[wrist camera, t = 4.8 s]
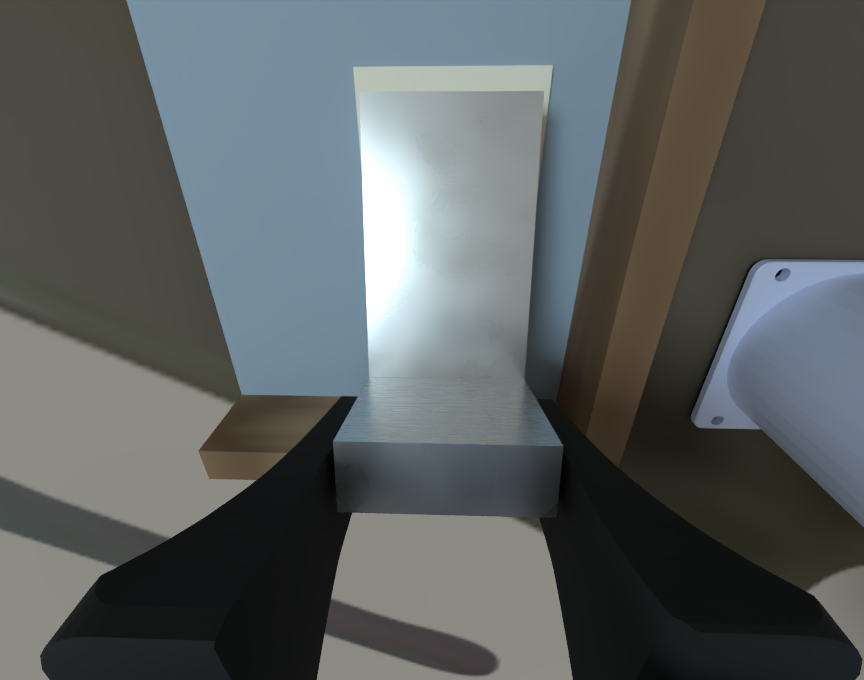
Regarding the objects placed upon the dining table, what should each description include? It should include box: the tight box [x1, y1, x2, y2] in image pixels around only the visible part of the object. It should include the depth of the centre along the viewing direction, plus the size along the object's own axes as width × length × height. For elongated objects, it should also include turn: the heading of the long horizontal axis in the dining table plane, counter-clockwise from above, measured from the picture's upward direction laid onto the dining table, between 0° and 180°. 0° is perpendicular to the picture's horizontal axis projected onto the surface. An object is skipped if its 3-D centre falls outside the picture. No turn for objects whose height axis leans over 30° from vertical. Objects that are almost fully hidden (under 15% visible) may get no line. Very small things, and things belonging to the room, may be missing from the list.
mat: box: [127, 0, 631, 400], centre depth 12 cm, size 16×26×1 cm, turn 0°
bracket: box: [333, 91, 563, 518], centre depth 11 cm, size 10×5×6 cm, turn 0°
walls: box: [199, 0, 766, 480], centre depth 11 cm, size 16×26×4 cm, turn 0°
